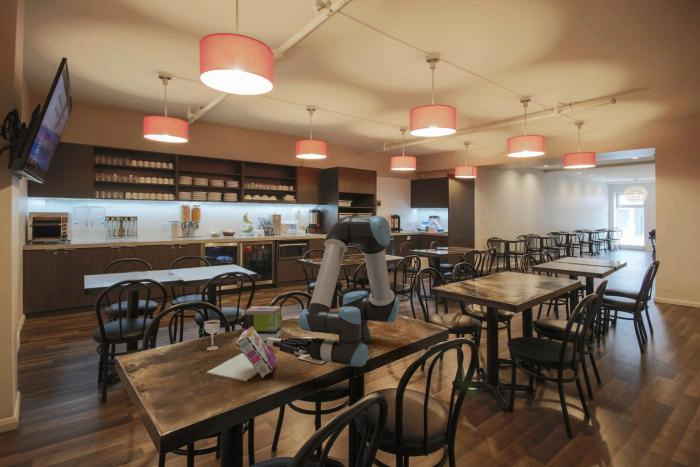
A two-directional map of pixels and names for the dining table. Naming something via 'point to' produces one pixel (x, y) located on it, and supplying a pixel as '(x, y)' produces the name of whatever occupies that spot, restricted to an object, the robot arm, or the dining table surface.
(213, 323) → the wineglass
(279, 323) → the tea box
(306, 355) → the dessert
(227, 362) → the mat
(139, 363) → the dining table surface
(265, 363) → the candy bar box
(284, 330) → the dining table surface
